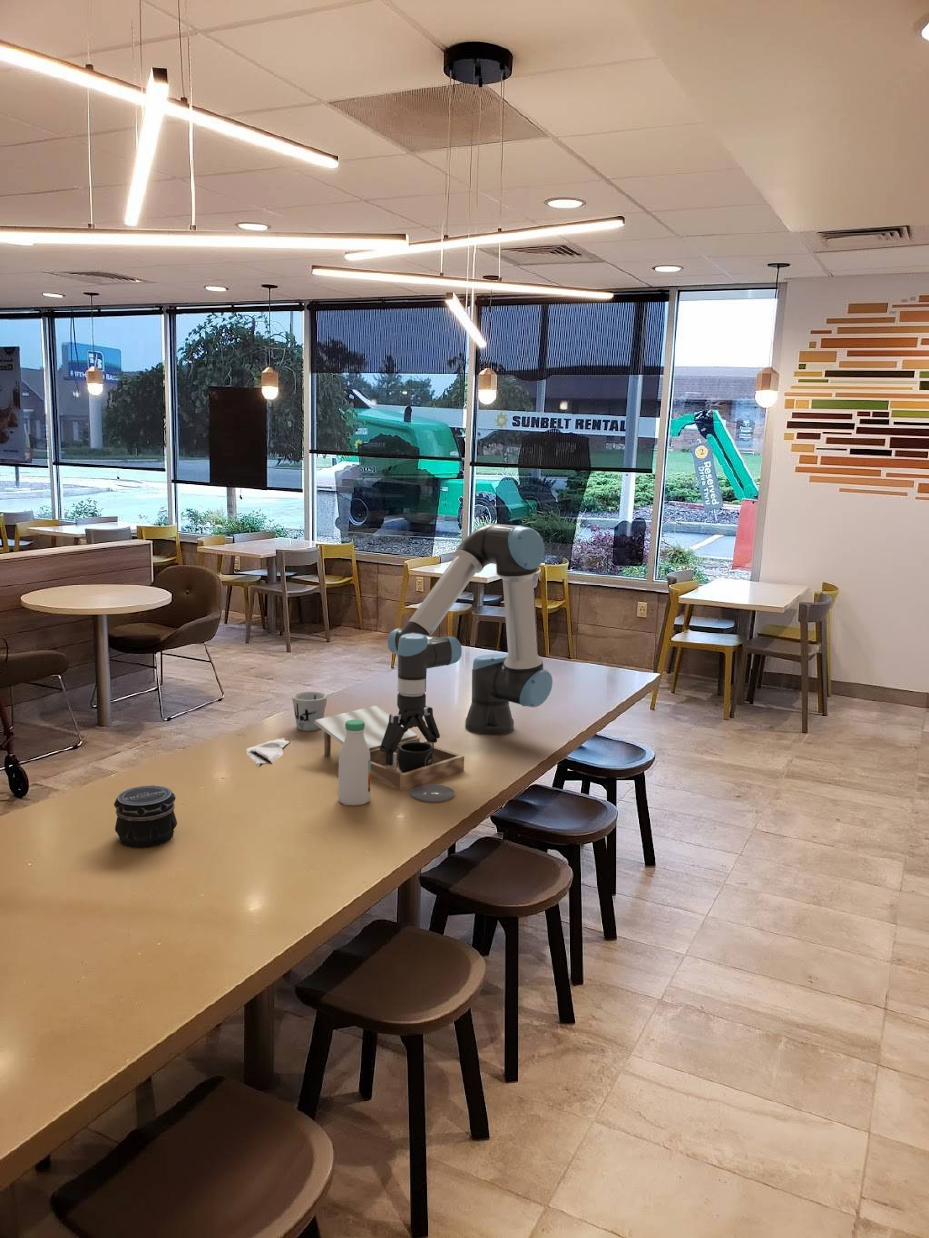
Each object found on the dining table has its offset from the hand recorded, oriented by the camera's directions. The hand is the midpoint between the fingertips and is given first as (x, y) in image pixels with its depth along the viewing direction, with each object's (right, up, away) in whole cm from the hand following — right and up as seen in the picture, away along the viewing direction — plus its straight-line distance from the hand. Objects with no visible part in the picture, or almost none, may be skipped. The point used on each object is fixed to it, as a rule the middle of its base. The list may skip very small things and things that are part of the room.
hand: (409, 770), depth 249 cm
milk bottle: (-12, -4, -22) cm, 25 cm away
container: (-55, -7, -46) cm, 72 cm away
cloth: (-41, +2, +13) cm, 43 cm away
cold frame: (-6, +1, +6) cm, 9 cm away
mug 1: (-32, +7, +38) cm, 50 cm away
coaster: (+7, -3, -16) cm, 18 cm away
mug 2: (0, -1, 0) cm, 0 cm away
